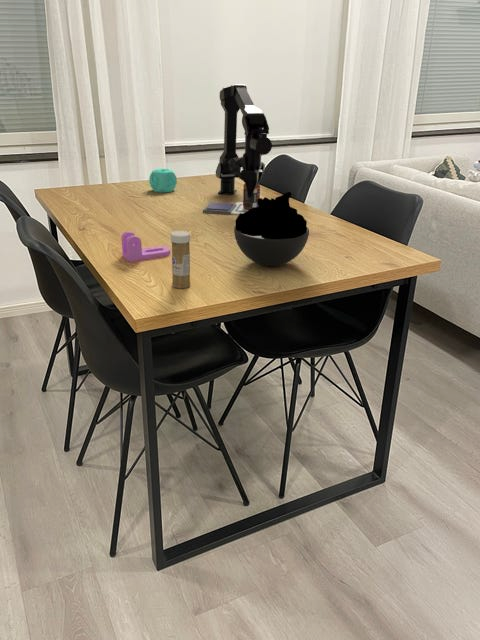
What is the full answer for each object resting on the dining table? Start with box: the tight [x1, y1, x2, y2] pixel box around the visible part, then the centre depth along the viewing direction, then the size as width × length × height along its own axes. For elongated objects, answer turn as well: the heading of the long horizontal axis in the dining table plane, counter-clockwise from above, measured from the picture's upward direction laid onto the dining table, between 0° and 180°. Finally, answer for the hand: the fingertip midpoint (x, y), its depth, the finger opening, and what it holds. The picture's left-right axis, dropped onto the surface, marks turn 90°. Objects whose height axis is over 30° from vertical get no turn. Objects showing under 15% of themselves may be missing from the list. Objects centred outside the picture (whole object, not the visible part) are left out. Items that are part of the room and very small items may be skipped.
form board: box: [230, 201, 248, 216], centre depth 211 cm, size 16×14×1 cm
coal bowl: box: [233, 191, 310, 267], centre depth 155 cm, size 20×20×19 cm
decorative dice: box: [148, 168, 178, 193], centre depth 235 cm, size 8×8×8 cm
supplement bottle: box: [242, 182, 261, 210], centre depth 209 cm, size 6×6×11 cm
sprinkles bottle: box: [170, 230, 191, 289], centre depth 140 cm, size 5×5×14 cm
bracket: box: [121, 230, 171, 262], centre depth 162 cm, size 13×6×7 cm, turn 119°
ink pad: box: [202, 201, 237, 215], centre depth 210 cm, size 11×10×1 cm
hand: (251, 194), depth 209 cm, fingers open, 7 cm apart
